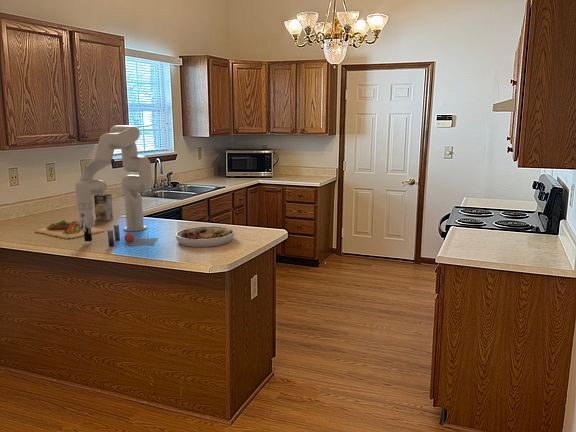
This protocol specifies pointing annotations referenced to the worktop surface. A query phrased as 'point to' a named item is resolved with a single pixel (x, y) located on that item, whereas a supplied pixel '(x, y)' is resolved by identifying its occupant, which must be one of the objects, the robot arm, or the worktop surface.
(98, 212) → the coffee box
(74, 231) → the wooden food tray
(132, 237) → the ball
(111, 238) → the post
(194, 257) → the worktop surface
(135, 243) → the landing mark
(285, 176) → the worktop surface
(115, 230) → the post
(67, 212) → the worktop surface
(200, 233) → the bowl
